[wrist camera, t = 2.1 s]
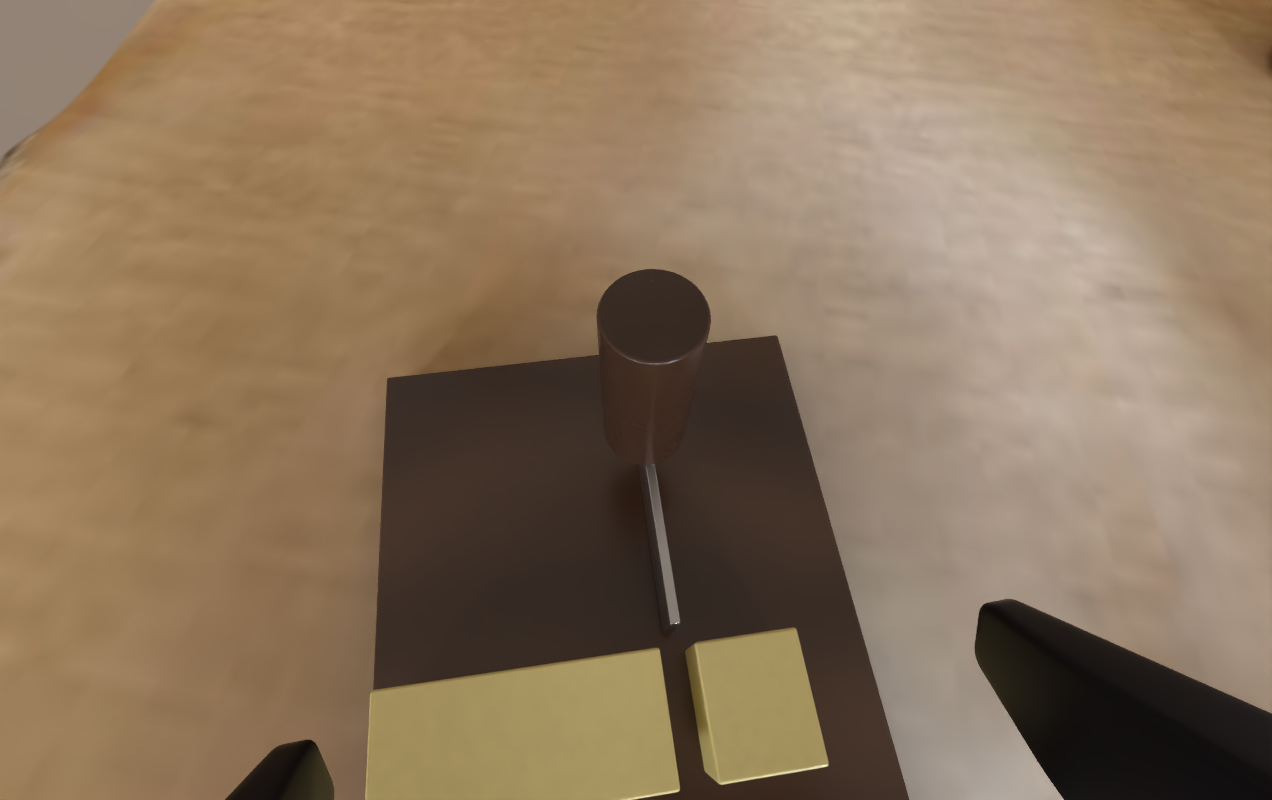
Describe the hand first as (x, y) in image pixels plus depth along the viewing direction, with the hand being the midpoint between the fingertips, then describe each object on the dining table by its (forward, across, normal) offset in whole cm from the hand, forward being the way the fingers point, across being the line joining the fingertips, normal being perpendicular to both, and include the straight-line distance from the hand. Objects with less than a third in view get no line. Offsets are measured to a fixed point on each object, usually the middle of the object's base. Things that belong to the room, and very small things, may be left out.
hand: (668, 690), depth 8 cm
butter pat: (+8, -3, +10) cm, 13 cm away
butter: (+8, +3, +10) cm, 13 cm away
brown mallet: (+12, -1, +5) cm, 13 cm away
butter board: (+11, 0, +8) cm, 14 cm away
